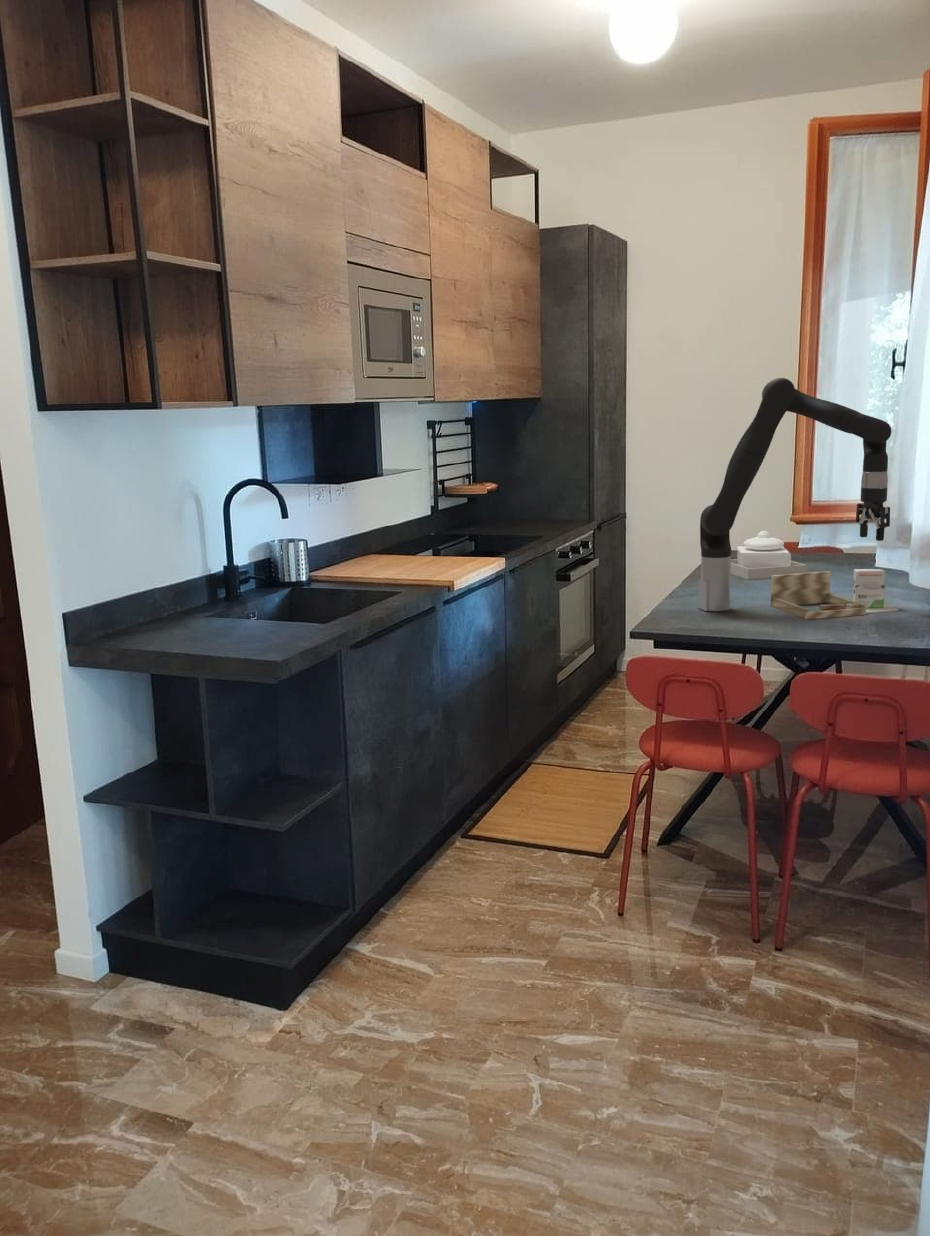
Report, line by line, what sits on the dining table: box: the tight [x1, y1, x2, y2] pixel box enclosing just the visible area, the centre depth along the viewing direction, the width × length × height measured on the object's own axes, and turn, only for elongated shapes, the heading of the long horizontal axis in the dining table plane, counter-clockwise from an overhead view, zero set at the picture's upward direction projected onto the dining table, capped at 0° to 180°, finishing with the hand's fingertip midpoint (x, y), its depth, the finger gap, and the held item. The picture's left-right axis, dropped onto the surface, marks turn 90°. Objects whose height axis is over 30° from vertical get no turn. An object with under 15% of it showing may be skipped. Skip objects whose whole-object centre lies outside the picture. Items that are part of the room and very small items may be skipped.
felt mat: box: [866, 604, 900, 615], centre depth 315 cm, size 12×14×1 cm
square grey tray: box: [731, 558, 808, 581], centre depth 383 cm, size 23×23×4 cm
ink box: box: [852, 568, 886, 608], centre depth 314 cm, size 9×5×12 cm, turn 80°
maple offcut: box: [846, 603, 859, 609], centre depth 307 cm, size 3×2×3 cm
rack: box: [770, 570, 867, 620], centre depth 313 cm, size 20×22×10 cm
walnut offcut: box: [818, 604, 845, 611], centre depth 306 cm, size 7×2×2 cm, turn 88°
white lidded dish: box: [735, 530, 792, 568], centre depth 381 cm, size 18×18×16 cm
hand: (871, 538), depth 310 cm, fingers open, 8 cm apart
